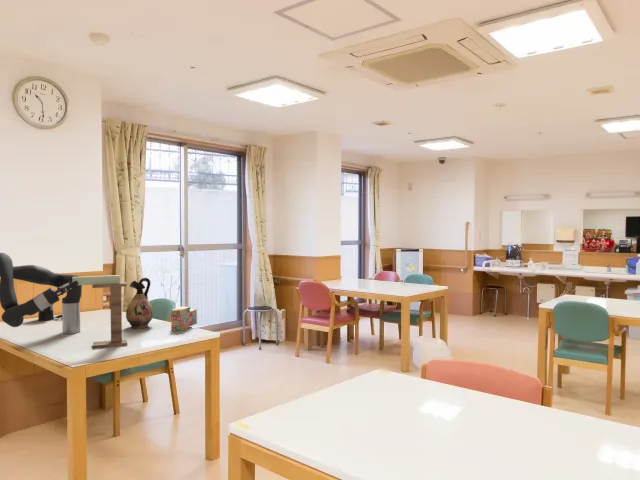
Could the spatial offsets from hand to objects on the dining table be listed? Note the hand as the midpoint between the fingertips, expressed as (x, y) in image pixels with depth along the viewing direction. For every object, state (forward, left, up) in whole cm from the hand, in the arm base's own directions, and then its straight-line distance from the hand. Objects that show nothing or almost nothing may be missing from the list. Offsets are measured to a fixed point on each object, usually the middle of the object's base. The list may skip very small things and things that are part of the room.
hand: (77, 281), depth 250 cm
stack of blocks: (-30, +58, -34) cm, 74 cm away
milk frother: (-91, -16, -34) cm, 98 cm away
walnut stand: (0, +15, -34) cm, 37 cm away
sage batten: (0, +9, -2) cm, 9 cm away
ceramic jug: (-42, +34, -34) cm, 63 cm away
